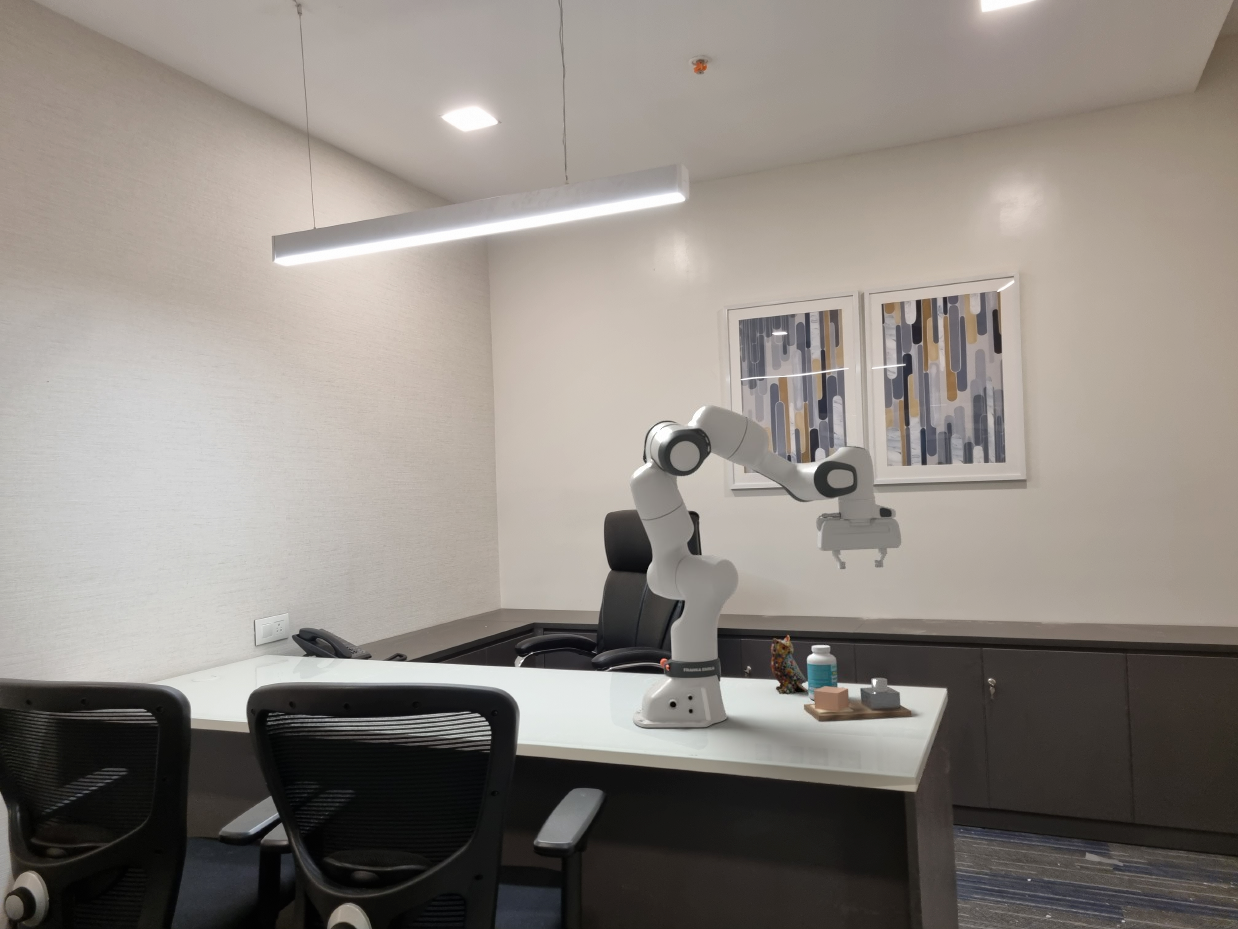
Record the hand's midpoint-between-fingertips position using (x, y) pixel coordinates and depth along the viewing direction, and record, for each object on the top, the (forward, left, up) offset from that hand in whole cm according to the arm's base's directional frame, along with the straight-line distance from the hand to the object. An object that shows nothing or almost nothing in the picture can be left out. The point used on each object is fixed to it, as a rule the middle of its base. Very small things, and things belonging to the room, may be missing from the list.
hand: (860, 568), depth 205 cm
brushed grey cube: (+2, -3, -33) cm, 33 cm away
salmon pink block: (-10, -3, -33) cm, 34 cm away
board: (-4, -3, -34) cm, 34 cm away
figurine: (-13, +24, -34) cm, 44 cm away
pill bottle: (-7, +13, -34) cm, 37 cm away
